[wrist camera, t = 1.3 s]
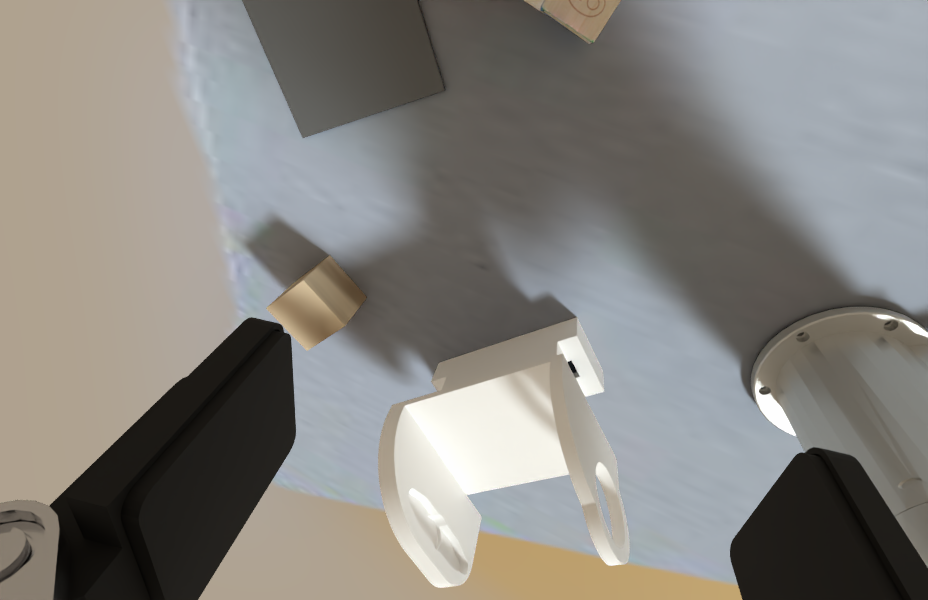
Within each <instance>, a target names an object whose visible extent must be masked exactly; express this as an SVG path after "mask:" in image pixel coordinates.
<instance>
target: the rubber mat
mask: <svg viewBox="0 0 928 600" xmlns="http://www.w3.org/2000/svg"><path fill="white" fill-rule="evenodd" d="M242 1H243V3H244V5H245V8H246V10H247V12H248V14H249V17H250V19H251V21H252V24H253V26H254V28H255V30H256V33H257V35H258V37H259V39H260V42H261V44H262V46H263V49H264V51H265V53H266V55H267V58H268V60H269V62H270V64H271V67H272V69H273V71H274V74H275V76H276V78H277V80H278V83H279V85H280V87H281V89H282V92H283V94H284V96H285V98H286V101H287V103H288V105H289V108H290V110H291V112H292V114H293V117H294V119H295V121H296V123H297V126H298V128H299V130H300V133H301V135H302V137H303V138H305V137H308V136H311V135H314V134H316V133H319V132H322V131H325V130H328V129H331V128H334V127H337V126H340V125H343V124H346V123H349V122H352V121H355V120H358V119H361V118H364V117H367V116H370V115H373V114H376V113H379V112H382V111H385V110H388V109H391V108H394V107H397V106H400V105H403V104H406V103H409V102H412V101H415V100H418V99H421V98H424V97H427V96H429V95H432V94H435V93H438V92H441V91H444V90H445V87H444V84H443V81H442V77H441V74H440V71H439V68H438V64H437V61H436V58H435V55H434V51H433V48H432V45H431V42H430V38H429V35H428V32H427V28H426V25H425V22H424V19H423V15H422V12H421V9H420V6H419V2H418V0H242Z"/></svg>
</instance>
